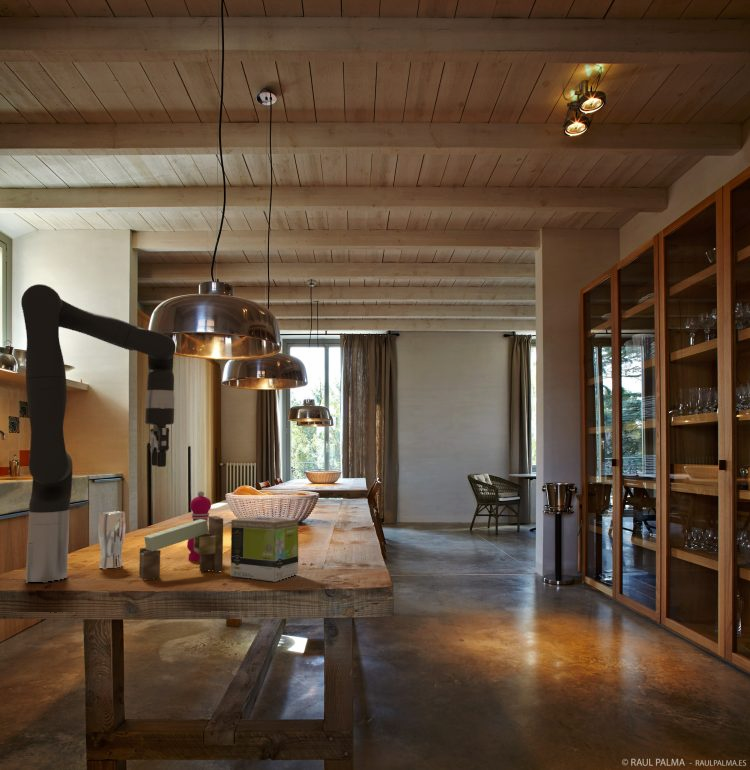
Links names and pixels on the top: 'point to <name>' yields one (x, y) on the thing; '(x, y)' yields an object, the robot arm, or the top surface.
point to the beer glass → (111, 538)
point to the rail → (176, 535)
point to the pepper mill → (200, 511)
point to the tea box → (264, 548)
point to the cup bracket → (211, 546)
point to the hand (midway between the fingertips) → (158, 466)
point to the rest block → (149, 564)
